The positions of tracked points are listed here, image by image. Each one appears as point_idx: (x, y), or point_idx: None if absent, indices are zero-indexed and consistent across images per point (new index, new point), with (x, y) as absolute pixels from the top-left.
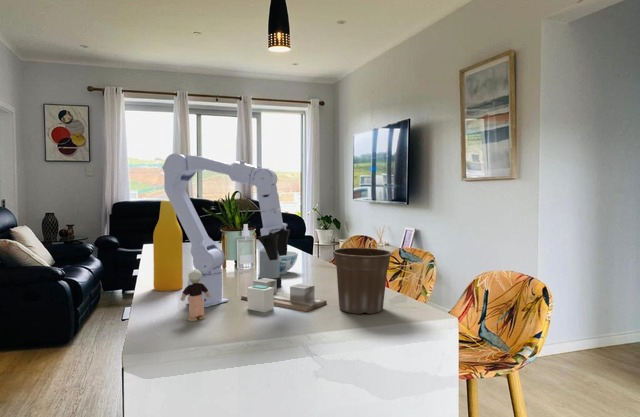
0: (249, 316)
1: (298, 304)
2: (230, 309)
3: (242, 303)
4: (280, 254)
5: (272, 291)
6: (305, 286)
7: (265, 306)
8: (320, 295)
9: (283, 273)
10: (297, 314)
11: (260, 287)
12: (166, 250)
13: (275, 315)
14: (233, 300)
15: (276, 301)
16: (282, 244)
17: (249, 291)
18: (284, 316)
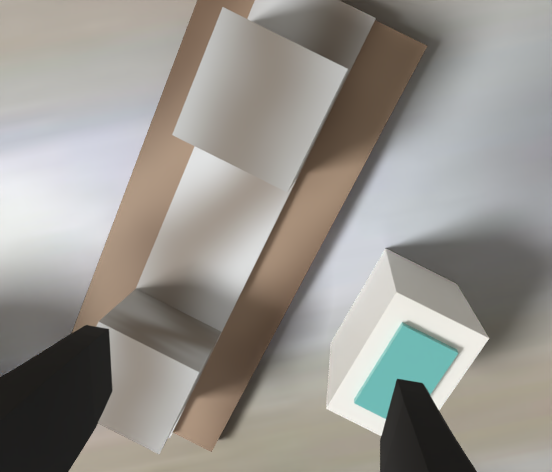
0: (544, 337)
1: (348, 113)
2: None
3: (293, 419)
4: (103, 392)
5: (405, 288)
6: (271, 75)
7: (453, 288)
8: (25, 32)
9: None
10: (490, 91)
11: (435, 374)
12: None
13: (518, 211)
14: (243, 469)
15: (297, 255)
16: (26, 452)
17: None
18: (537, 158)
